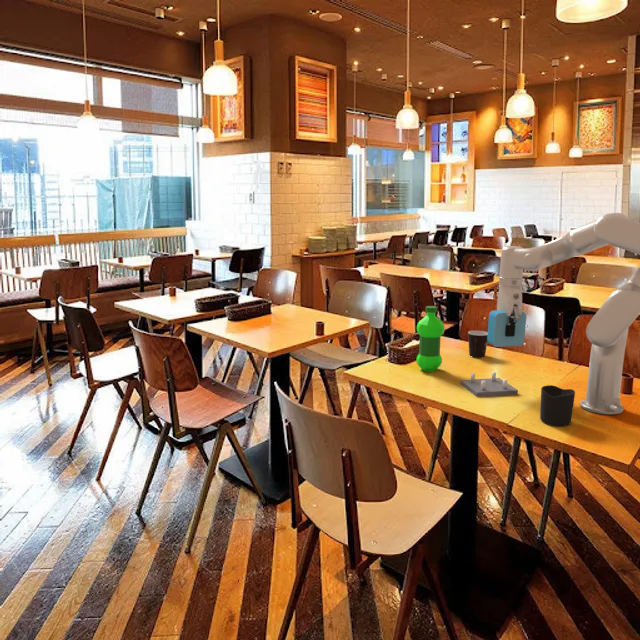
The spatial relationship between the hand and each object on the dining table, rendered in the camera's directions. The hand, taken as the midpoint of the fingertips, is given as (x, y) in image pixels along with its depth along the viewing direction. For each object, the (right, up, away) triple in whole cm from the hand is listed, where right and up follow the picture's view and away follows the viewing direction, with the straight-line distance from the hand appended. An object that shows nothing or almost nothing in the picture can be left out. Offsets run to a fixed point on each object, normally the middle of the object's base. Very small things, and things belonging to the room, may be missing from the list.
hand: (506, 333), depth 207 cm
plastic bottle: (-22, -15, +26) cm, 37 cm away
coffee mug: (+1, -11, +45) cm, 46 cm away
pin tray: (-5, -20, +3) cm, 21 cm away
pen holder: (+7, -26, -27) cm, 38 cm away
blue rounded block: (0, -4, +1) cm, 4 cm away
